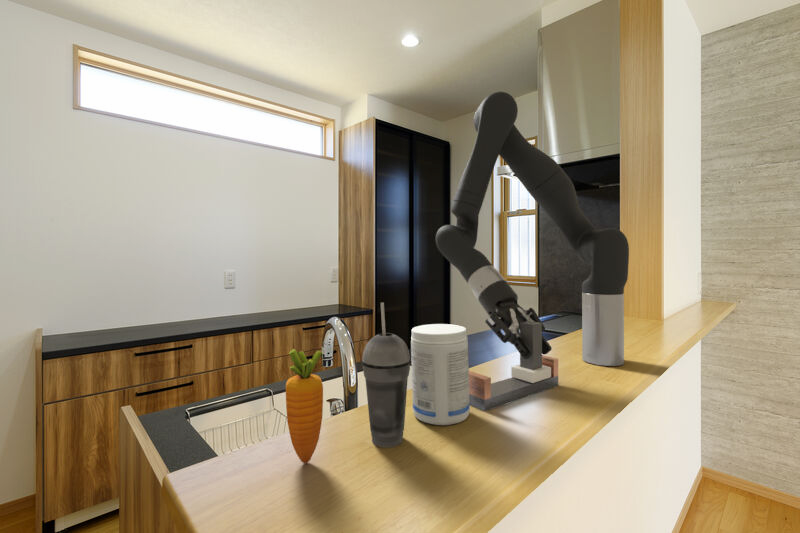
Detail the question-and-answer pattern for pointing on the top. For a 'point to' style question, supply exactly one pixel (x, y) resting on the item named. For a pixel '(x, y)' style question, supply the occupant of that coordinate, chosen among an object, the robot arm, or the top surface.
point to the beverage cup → (386, 385)
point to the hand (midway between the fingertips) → (538, 354)
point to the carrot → (304, 405)
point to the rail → (508, 387)
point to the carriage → (532, 366)
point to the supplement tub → (440, 373)
